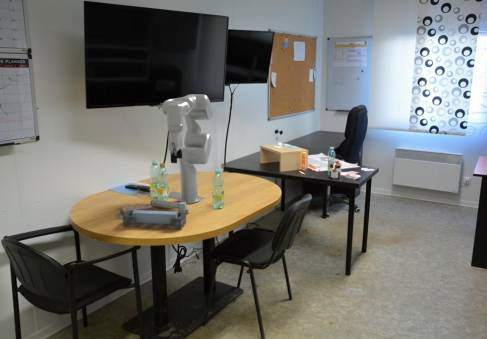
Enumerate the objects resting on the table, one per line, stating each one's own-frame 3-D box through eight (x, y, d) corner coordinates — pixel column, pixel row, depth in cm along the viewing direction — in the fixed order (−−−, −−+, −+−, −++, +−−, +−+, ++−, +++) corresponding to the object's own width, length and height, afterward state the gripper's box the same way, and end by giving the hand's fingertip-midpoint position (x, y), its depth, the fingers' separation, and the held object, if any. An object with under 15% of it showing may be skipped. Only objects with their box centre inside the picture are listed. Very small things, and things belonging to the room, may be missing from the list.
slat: (132, 222, 211) (131, 212, 209) (135, 219, 214) (134, 210, 213) (175, 224, 208) (175, 214, 207) (178, 221, 212) (177, 211, 211)
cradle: (123, 227, 208) (122, 216, 207) (130, 219, 218) (130, 209, 217) (181, 229, 205) (181, 218, 204) (186, 222, 215) (185, 212, 214)
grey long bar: (155, 198, 241) (189, 200, 227) (157, 209, 242) (191, 212, 229) (149, 200, 237) (183, 202, 223) (150, 212, 238) (185, 214, 224)
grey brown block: (150, 201, 234) (154, 207, 225) (151, 209, 235) (154, 215, 226) (116, 205, 227) (119, 211, 218) (117, 214, 228) (119, 220, 219)
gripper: (172, 124, 224) (174, 156, 229) (162, 130, 208) (164, 164, 213) (186, 125, 224) (187, 156, 228) (177, 131, 207) (179, 165, 212)
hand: (176, 160), depth 220 cm, fingers open, 9 cm apart
